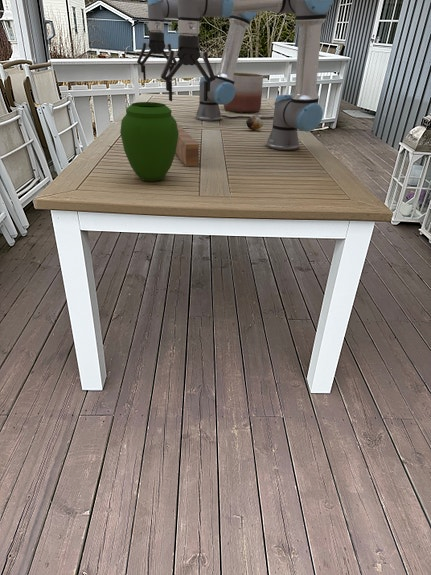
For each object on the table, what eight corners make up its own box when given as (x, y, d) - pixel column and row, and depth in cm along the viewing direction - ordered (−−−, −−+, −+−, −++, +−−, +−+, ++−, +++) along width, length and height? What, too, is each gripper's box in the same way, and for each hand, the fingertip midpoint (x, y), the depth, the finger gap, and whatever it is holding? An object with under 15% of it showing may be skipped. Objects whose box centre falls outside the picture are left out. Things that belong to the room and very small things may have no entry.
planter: (264, 113, 274) (268, 77, 262) (227, 113, 270) (229, 75, 258) (255, 107, 295) (258, 73, 283) (220, 106, 291) (222, 72, 279)
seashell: (261, 129, 230) (262, 114, 225) (263, 131, 225) (265, 115, 221) (244, 128, 228) (245, 113, 224) (246, 131, 224) (247, 115, 219)
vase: (131, 189, 135) (125, 110, 122) (118, 172, 150) (112, 100, 137) (186, 184, 142) (187, 109, 129) (169, 168, 157) (167, 99, 144)
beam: (152, 124, 229) (152, 108, 225) (161, 124, 230) (161, 108, 226) (185, 166, 161) (185, 144, 157) (198, 165, 163) (198, 144, 158)
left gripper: (131, 30, 194) (134, 80, 206) (182, 33, 201) (182, 81, 212) (129, 30, 200) (132, 78, 212) (179, 32, 207) (179, 79, 218)
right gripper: (155, 33, 138) (157, 102, 149) (225, 37, 144) (222, 102, 156) (151, 33, 144) (153, 99, 155) (219, 36, 150) (216, 99, 162)
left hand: (157, 80), depth 212 cm, fingers open, 13 cm apart
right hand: (188, 100), depth 155 cm, fingers open, 13 cm apart
